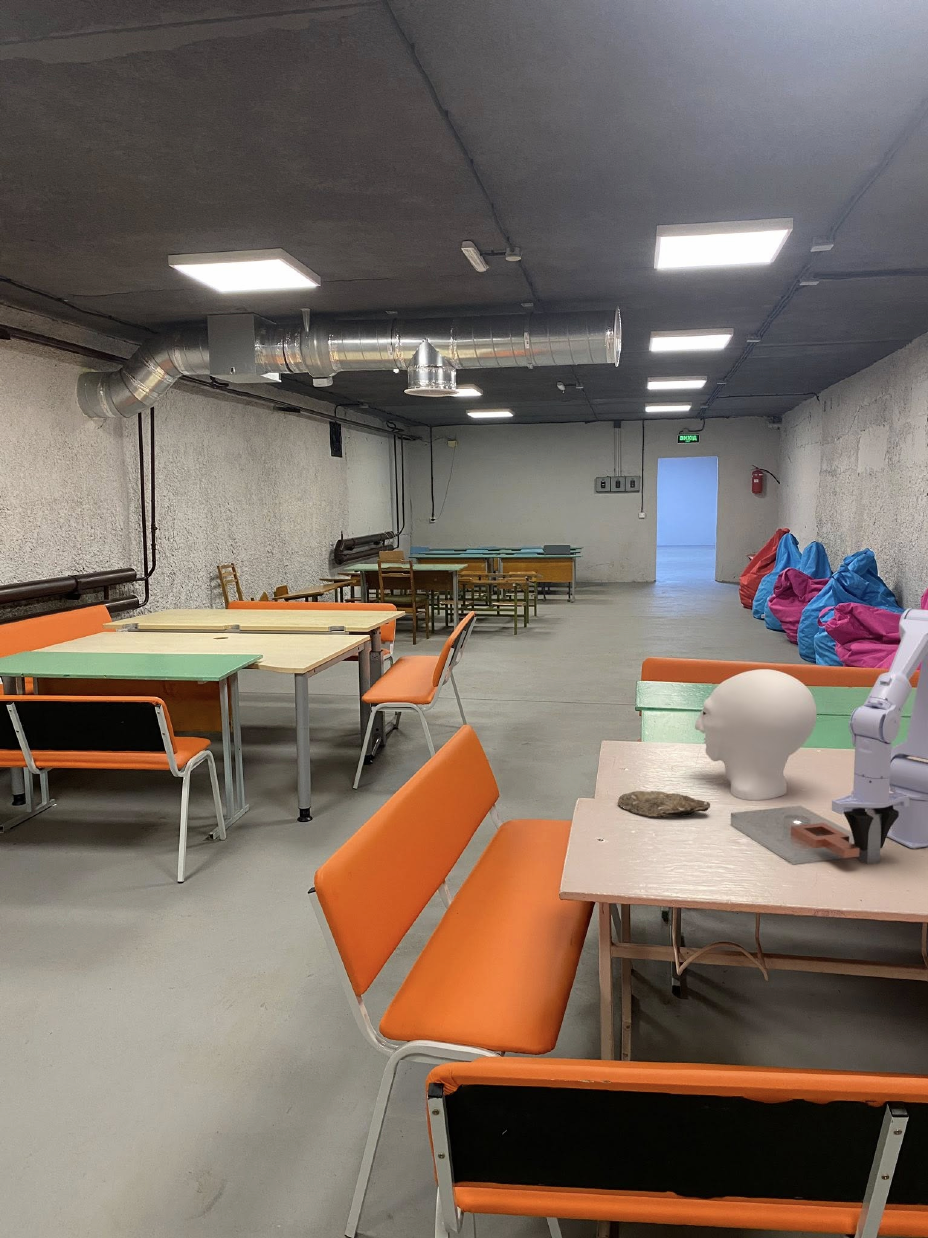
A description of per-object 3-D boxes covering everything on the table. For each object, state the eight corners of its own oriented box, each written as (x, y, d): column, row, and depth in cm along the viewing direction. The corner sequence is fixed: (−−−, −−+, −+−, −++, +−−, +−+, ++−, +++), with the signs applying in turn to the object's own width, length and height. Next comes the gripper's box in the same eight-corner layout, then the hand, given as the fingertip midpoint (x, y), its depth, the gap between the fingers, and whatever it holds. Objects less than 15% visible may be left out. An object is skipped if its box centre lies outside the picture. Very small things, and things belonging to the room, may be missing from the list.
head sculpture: (802, 811, 169) (806, 680, 166) (679, 787, 186) (681, 668, 183) (823, 789, 183) (827, 668, 180) (707, 769, 199) (709, 658, 196)
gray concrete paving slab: (799, 817, 166) (800, 798, 165) (890, 866, 141) (891, 844, 141) (730, 825, 162) (731, 805, 161) (811, 876, 138) (811, 853, 137)
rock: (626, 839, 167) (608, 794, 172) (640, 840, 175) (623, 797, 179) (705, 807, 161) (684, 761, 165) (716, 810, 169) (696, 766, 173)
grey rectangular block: (869, 857, 145) (871, 809, 144) (879, 862, 143) (881, 814, 142) (856, 858, 145) (858, 810, 144) (867, 864, 142) (869, 815, 141)
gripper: (889, 764, 148) (886, 835, 149) (821, 770, 144) (818, 843, 146) (919, 775, 141) (916, 849, 142) (848, 782, 137) (845, 858, 139)
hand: (868, 847), depth 144 cm, fingers open, 3 cm apart
